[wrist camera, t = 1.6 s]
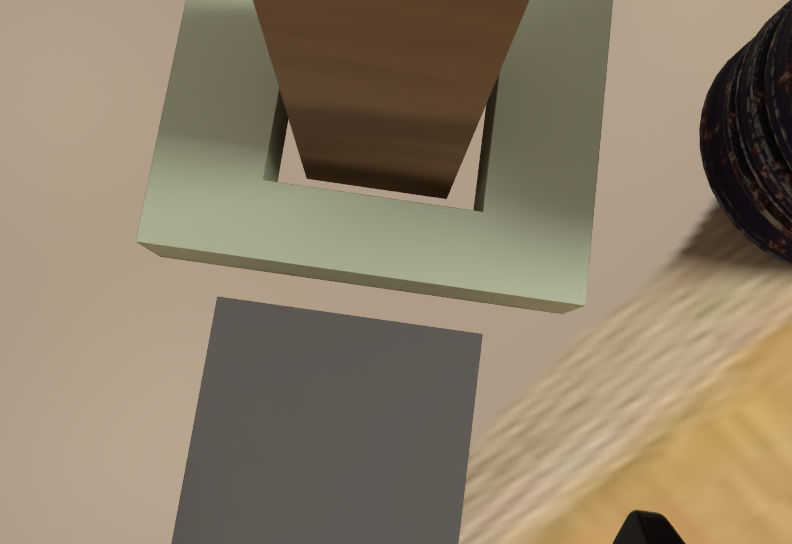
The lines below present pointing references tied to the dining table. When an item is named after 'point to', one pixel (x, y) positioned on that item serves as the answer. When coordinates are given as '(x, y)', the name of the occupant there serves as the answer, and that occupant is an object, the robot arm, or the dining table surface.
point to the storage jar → (754, 137)
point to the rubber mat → (328, 430)
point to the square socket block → (376, 216)
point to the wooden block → (387, 84)
